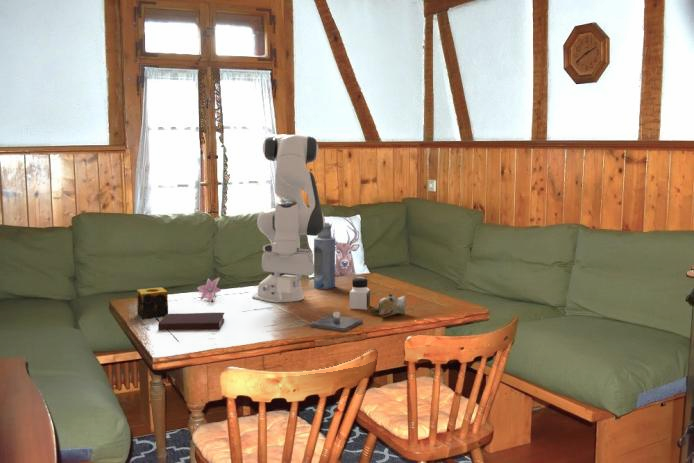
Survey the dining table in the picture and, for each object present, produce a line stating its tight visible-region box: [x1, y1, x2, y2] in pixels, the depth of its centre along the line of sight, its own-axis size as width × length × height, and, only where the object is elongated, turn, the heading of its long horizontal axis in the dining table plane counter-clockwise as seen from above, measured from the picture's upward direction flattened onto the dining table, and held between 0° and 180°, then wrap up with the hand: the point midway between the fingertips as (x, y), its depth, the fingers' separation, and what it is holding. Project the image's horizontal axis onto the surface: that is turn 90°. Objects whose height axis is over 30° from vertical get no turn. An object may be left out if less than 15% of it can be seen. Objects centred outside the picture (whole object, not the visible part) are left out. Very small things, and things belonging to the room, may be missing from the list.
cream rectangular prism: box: [277, 275, 299, 293], centre depth 246 cm, size 5×5×5 cm
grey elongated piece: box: [313, 221, 336, 290], centre depth 319 cm, size 10×10×30 cm
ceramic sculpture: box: [366, 293, 407, 318], centre depth 267 cm, size 11×9×15 cm
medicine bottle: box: [349, 277, 371, 311], centre depth 280 cm, size 7×7×12 cm
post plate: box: [309, 311, 363, 333], centre depth 254 cm, size 14×14×5 cm
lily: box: [196, 277, 222, 303], centre depth 297 cm, size 11×11×9 cm
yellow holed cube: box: [136, 286, 169, 320], centre depth 269 cm, size 10×10×10 cm
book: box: [157, 312, 225, 331], centre depth 254 cm, size 14×22×4 cm, turn 92°
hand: (288, 285), depth 246 cm, fingers closed on cream rectangular prism, 5 cm apart
